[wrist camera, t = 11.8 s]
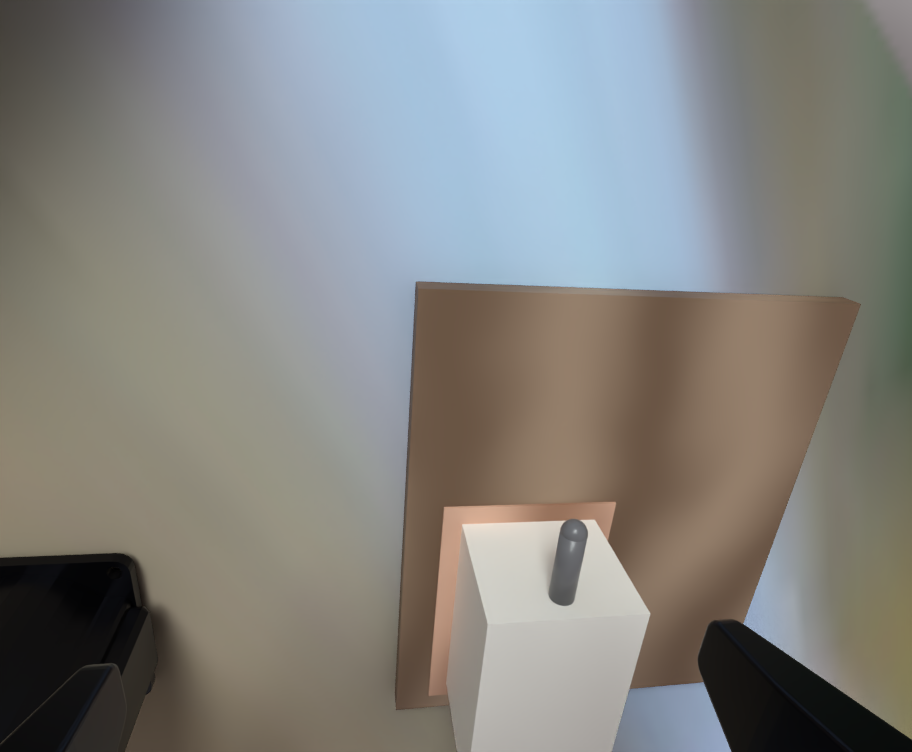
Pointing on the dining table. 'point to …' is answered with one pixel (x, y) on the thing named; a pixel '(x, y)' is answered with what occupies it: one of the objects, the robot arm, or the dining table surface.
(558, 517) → the mounting board
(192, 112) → the dining table surface
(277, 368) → the dining table surface
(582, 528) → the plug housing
